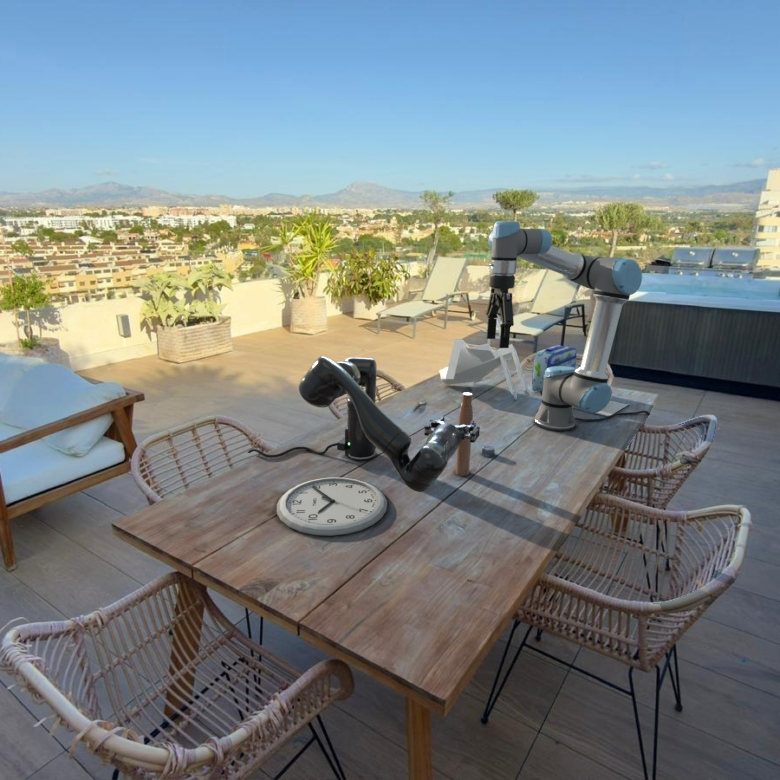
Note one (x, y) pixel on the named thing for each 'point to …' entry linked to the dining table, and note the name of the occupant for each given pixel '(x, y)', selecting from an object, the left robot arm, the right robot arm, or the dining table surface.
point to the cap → (488, 451)
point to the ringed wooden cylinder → (465, 444)
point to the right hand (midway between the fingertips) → (497, 343)
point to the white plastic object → (481, 363)
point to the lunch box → (551, 363)
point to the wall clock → (331, 506)
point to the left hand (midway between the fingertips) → (458, 421)
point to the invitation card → (611, 408)
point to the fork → (420, 403)
